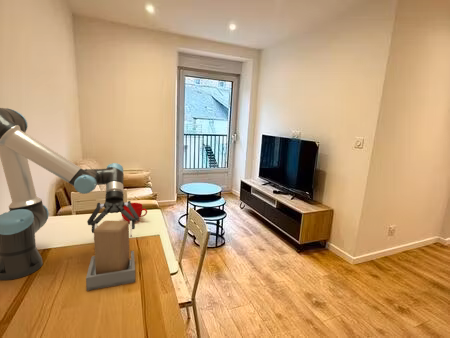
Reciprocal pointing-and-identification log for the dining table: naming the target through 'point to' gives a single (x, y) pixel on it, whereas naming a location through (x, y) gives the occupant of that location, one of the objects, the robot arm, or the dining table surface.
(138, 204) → the ceramic cup
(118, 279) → the end cap cradle
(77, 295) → the dining table surface
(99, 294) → the dining table surface
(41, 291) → the dining table surface
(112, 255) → the wooden block
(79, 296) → the dining table surface
